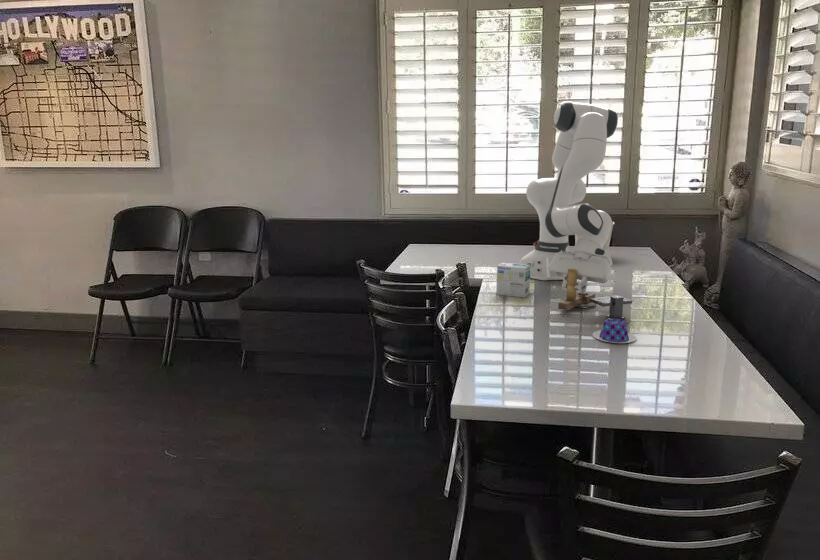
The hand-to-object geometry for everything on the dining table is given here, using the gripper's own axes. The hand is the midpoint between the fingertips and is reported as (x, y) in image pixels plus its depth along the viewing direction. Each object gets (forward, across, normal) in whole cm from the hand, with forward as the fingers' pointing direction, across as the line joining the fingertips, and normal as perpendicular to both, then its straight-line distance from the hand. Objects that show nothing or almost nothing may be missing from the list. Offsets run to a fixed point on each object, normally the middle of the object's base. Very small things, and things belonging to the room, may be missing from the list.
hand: (570, 288), depth 213 cm
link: (+2, 0, +7) cm, 7 cm away
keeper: (+4, +13, +7) cm, 15 cm away
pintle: (-2, 0, +12) cm, 12 cm away
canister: (-56, -32, +67) cm, 93 cm away
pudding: (+18, +22, -7) cm, 30 cm away
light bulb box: (+1, -25, +10) cm, 27 cm away
